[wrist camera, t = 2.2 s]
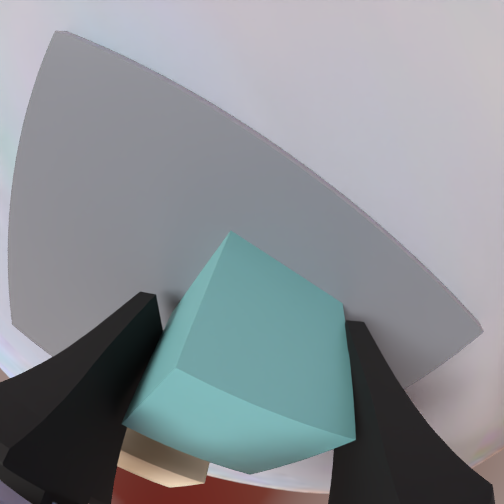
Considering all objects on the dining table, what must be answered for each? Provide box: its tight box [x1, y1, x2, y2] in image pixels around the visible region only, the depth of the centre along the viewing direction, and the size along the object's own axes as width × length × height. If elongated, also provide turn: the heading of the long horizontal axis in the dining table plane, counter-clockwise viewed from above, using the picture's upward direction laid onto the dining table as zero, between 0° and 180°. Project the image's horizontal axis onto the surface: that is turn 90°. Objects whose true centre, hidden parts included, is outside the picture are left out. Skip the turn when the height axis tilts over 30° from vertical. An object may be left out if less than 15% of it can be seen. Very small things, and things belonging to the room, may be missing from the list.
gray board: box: [8, 31, 484, 389], centre depth 13 cm, size 20×18×1 cm
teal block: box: [122, 231, 356, 474], centre depth 8 cm, size 4×4×5 cm
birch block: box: [117, 427, 210, 487], centre depth 12 cm, size 4×4×5 cm
